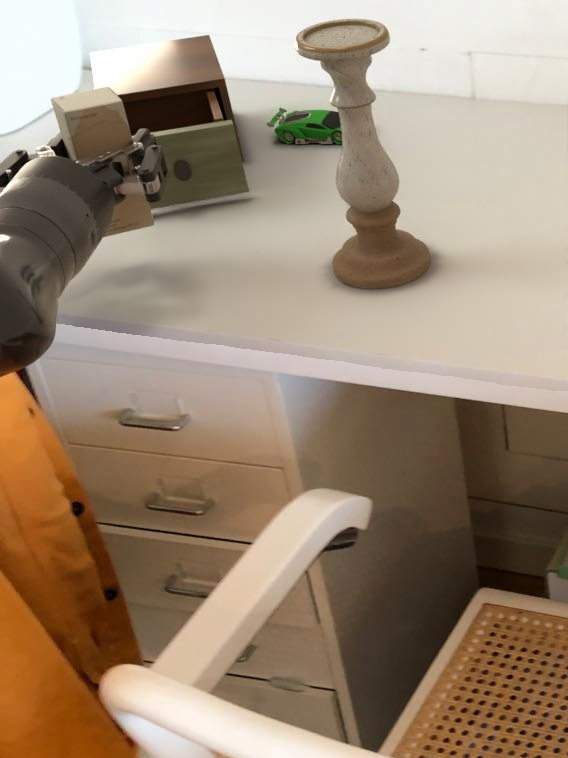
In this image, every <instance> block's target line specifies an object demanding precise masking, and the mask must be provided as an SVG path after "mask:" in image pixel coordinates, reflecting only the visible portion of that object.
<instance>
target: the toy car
mask: <svg viewBox="0 0 568 758" xmlns="http://www.w3.org/2000/svg"><path fill="white" fill-rule="evenodd" d="M278 110H279V111H277V113H276V114H275V115H273V116H272V118H271V120H270V121H269V122H266V126H267V127H268V128H274V127H275V124H277V126H276V127H275V128H274V130H273V131H274V133H275V134H276V136H277V139H279V140H280V141H281V142H284V143H286V144H287V145H291V144H293V143H295V145H305V144H310V143H312V144H313V143H314V144H316V143H318V144H321V145H333V144H334V143H335V144H336V145H342V131H341V124H340V117H339V113H338V111H335V110H329V109H305V110H304V109H303V110H294V111H291V112H289V113H287V111H288V110H287V109H285V108H283V107H279V108H278ZM284 113H286V115H285V116H284Z"/></svg>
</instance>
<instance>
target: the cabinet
mask: <svg viewBox="0 0 568 758" xmlns="http://www.w3.org/2000/svg"><path fill="white" fill-rule="evenodd" d="M89 58H90V64H91V72H92V78H93V85H94V89H97V88H102V87H110V88H111V89H112V90H113V91H114V92H115V93H116V94H117V95H118V96H119V98H120V99H121V100H122V102H129V101H136V100H142V99H148V98H155V97H161V96H167V95H174V94H180V93H186V92H193V91H199V90H205V89H212V88H213V89H214V92H215V95H216V98H217V101H218V104H219V107H220V110H221V113H222V116H223V119H224V121H226V120H232V122H233V126H234V130H235V134H236V138H237V142H238V146H239V151H240V155H241V159H242V163H243V162H245V157H244V154H243V149H242V146H241V141H240V136H239V133H238V128H237V123H236V120H235V116H234V111H233V107H232V103H231V99H230V95H229V94H230V93H229V90H228V85H227V83H226V77H225V75H224V72H223V70H222V67H221V64H220V62H219V58H218V56H217V53H216V50H215V47H214V45H213V42H212V39H211V36H210V35H209V34H205V35H199V36H192V37H191V36H190V37H185V38H179V39H171V40H165V41H164V40H163V41H158V42H151V43H145V44H138V45H132V46H131V45H129V46H125V47H118V48H111V49H110V48H109V49H104V50H96V51H90V52H89Z"/></svg>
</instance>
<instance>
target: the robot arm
mask: <svg viewBox="0 0 568 758" xmlns="http://www.w3.org/2000/svg"><path fill="white" fill-rule="evenodd" d="M130 158H132V162H133V165H134V169H133V170H131V171H130V167H129V164H128V161H129V159H130ZM109 163H111V165H112V167H111V166H110V165H108V164H109ZM169 176H170V174H169V171H168V167H167V163H166V159H165V156H164V152H163V148H162V146H160V145H157V143H156V139H155V136H154V134H150V131H149V129H139V130H138V132H137V133H136V135H135V136H134V138H133V139H132V140H131V142H130V143H129V145H128V146H127V147H125V148H123V149H121V150H118V149H114V148H109V149H107V150H106V151H104V152H102V153H100V154H98V155H96V156H94V157H92V158H87V157H85V158H83V159H81V160H79V161H73V160H70V159H68V156H67V152H66V149H65V146H64V142H63V139H62V135H61V132H60V131H59V132H58V133H57V135H55V137H52V138H50V140H49V141H48V142H47V144H46V145H41V146H38V147H37V148H35V153H30V154H28V150H27V149H16V150H14V151H12V152H11V153H10V154H9V155H8V156H6V157H5V158H4V159H3V160H2V161H1V162H0V378H3V377H5V376H8V375H10V374H13V373H15V372H17V371H20V370H23V369H26V368H27V367H29V366H31V365H33V364H34V363H35V362H36V361H38V360H39V359H40V358H41V357H42V356H44V354H46V352H47V351H48V350H50V349H49V348H50V347H51V346H52V344H53V343H54V340H55V337H56V331H57V318H58V311H59V299H60V298H61V296H62V294H63V293H64V291H65V290H66V289H67V287H68V286H69V284H70V282H71V281H72V280H73V279H75V278H76V276H78V274H80V273H81V271H82V270H83V269H84V268H85V266H86V265H87V263H88V261H89V260H90V259H91V257H92V255H93V254H94V253H95V251H96V249H97V247H98V246H99V244H100V243H101V242H102V240H103V238H105V237H104V235H105V234H106V232H107V230H108V229H109V226H110V224H111V220H112V216H113V211H114V207H115V206H116V205H117V204H119V203H121V202H123V201H124V200H125V199H126V197H127V195H130V194H142V195H143V196H145V198H146V201H147V202H150V203H154V202H158V201H160V200H161V198H162V195H163V193H164V190H165V187H166V184H167V181H168V179H169Z"/></svg>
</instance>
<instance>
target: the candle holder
mask: <svg viewBox="0 0 568 758" xmlns="http://www.w3.org/2000/svg"><path fill="white" fill-rule="evenodd" d="M390 42H391V35H390V31H389V30H388V28H387V27H386V25H385V24H383V23H381V22H378V21H376V20H372V19H365V18H342V19H333V20H332V19H331V20H327V21H322V22H318V23H315V24H312V25H310V26H308V27H305V28H303V29H302V30H300V31H299V32H298V33H297V34H296V36H295V39H294V47H295V51H296V52H297V54H298V55H299V56H301V57H303V58H305V59H307V60H312V61H316V62H319V65H320V67H321V69H322V70H323V71H325V73H327V74H328V75H329V76H330V78H331V80H332V83H333V90H332V92H331V95H330V97H329V104H330V105H331V106H333V107H334V108H336V110H337V112H338V113H339V117H340V124H341V131H342V144H341V151H340V156H339V159H338V163H337V166H336V173H335V186H336V189H337V190H336V191H337V192H338V195H339V196H340V198H341V199H342V200H343V202H345V203H346V204H347V205H348V206H349V207H348V209H347V210H346V213H345V219H346V221H347V222H348V223H349V224H350V225H352V227H353V229H354V230H355V232H356V234H354V235H352V236H350V237H349V238H347V240H346V241H345V242H344V243H343V244H342V246H341V248H340V249H339V250H337V251H336V253H335V254H334V255H333V258H332V260H331V261H332V262H331V264H332V270H333V273H334V275H335V277H336V278H337V279H338V280H339V281H340V282H342V283H344V284H346V285H348V286H351V287H357V288H364V289H381V288H389V287H394V286H400V285H402V284H405V283H408V282H410V281H412V280H414V279H417V278H418V277H420V276H421V275H422V274H424V273H425V272H426V271H427V270H428V268H429V266H430V264H431V254H430V249H429V247H428V245H427V244H426V243H425V242H423V241H422V240H420V239H418V238H416V237H415V236H414V235H413V234H411V233H410V232H408V231H405V230H402V229H398V228H397V227H396V225H397V222H398V218H399V217H400V215H401V211H402V210H401V208H400V206H399V205H398V203H396V202H395V201H394V199H395V198H396V196H397V194H398V192H399V188H400V176H399V174H398V173H399V172H398V170H397V168H396V166H395V164H394V162H393V161H392V159H391V157H390V155H388V153H387V152H386V150H385V148H384V147H383V145H382V143H381V141H380V139H379V136H378V133H377V130H376V125H375V119H374V116H373V108H372V107H373V106H372V104H373V103H374V102H375V101H376V99H377V94H376V93H375V91H374V90H373V89H372V88H371V87H370V86H369V83H368V81H367V72H368V70H369V68H370V67H371V65H372V63H373V56H372V55H375V54H377V53H380V52H381V51H383V50H385V48H387V47H388V46H389V44H390Z"/></svg>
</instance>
